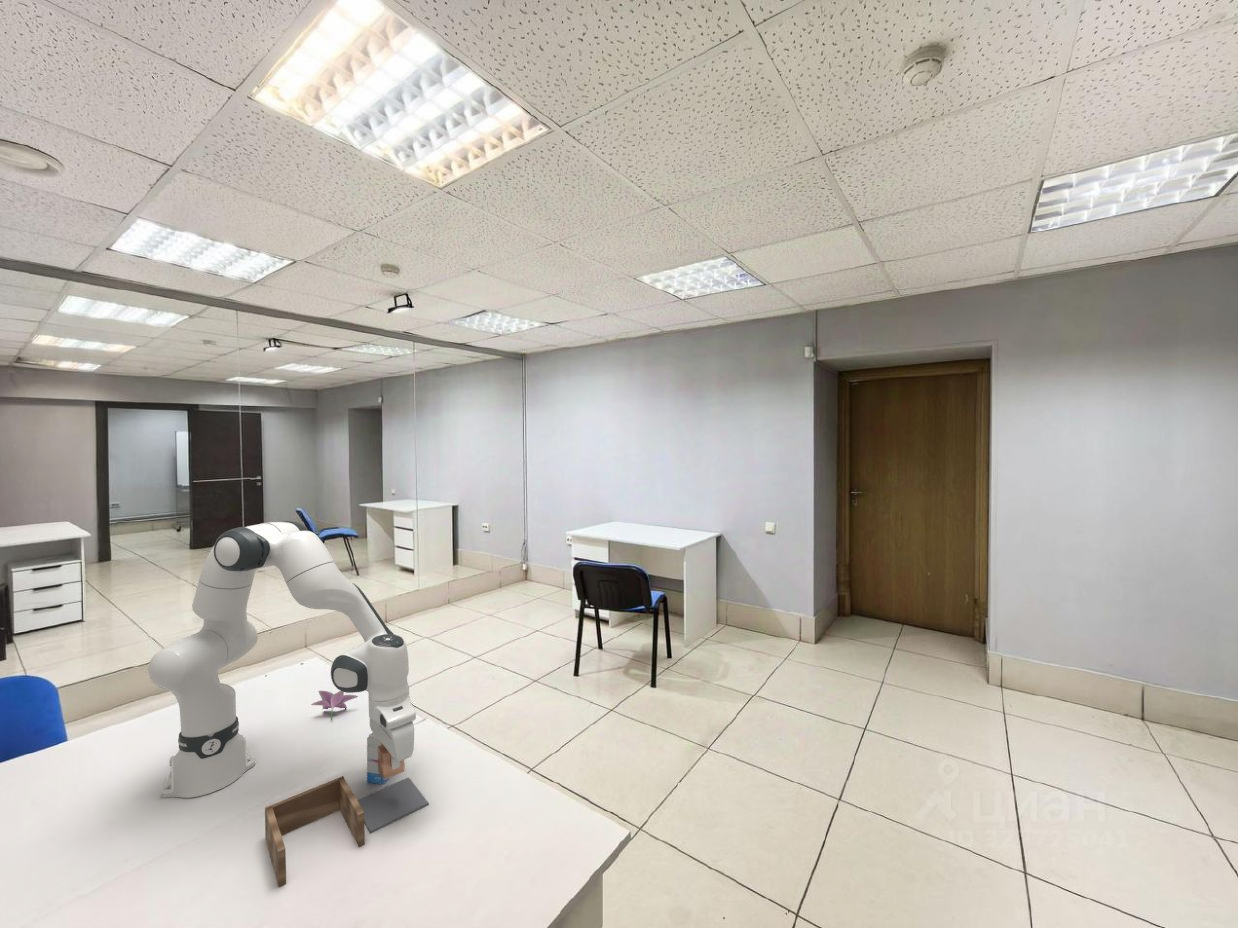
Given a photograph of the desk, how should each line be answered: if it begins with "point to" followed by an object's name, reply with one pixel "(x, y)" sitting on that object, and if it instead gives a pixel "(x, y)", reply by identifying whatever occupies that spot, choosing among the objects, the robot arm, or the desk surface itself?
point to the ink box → (373, 760)
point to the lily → (333, 700)
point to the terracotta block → (387, 764)
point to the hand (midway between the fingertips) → (390, 761)
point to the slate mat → (391, 804)
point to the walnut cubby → (310, 817)
